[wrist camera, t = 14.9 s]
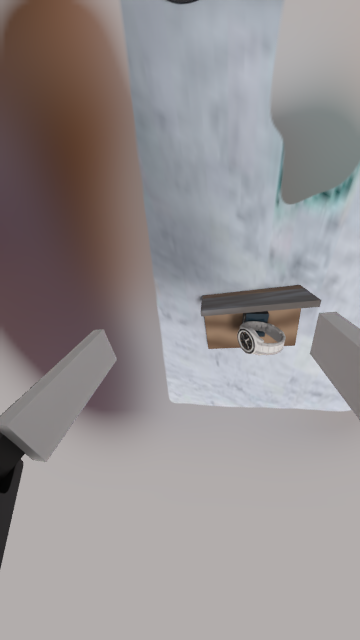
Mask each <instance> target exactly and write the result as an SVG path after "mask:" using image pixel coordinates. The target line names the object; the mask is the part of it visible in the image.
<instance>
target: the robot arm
mask: <svg viewBox="0 0 360 640" xmlns="http://www.w3.org/2000/svg"><path fill="white" fill-rule="evenodd" d="M171 1H175V2H190V1H193V0H171ZM310 354H311V356H312V357H313V358H314V360H315V361H316V362H317V364H318V365H319V366H320V368H321V369H322V370H323V372H324V373H325V374H326V376H327V377H328V378H329V380H330V381H331V382H332V384H333V385H334V386H335V388H336V389H337V390H338V392H339V393H340V394H341V396H342V397H343V398H344V400H345V401H346V402H347V404H348V405H349V406H350V408H351V409H352V410H353V412H354V413H355V414H356V416H357V417H358V418H359V420H360V329H359V328H358V327H356V326H355V325H354V324H352V323H351V322H349V321H348V320H347V319H345V318H344V317H342V316H341V315H340V314H338V313H337V312H328V313H319V316H318V320H317V325H316V329H315V334H314V338H313V343H312V347H311V351H310ZM116 360H117V358H116V356H115V354H114V352H113V350H112V347H111V345H110V343H109V341H108V339H107V336H106V334H105V332H104V330H94V331H93V332H91V334H89V336H87V337H86V338H85V339H84V340H83V341H82V342H81V343H80V344H78V345H77V346H76V347H75V348H74V349H73V350H72V351H71V352H70V353H69V354H68V355H66V356H65V357H64V358H63V359H62V360H61V361H60V362H59V363H58V364H57V365H56V366H54V367H53V368H52V369H51V370H50V371H49V372H48V373H47V374H46V375H45V376H44V377H43V378H42V379H40V380H39V381H38V382H37V383H35V384H34V385H33V386H32V387H31V388H30V389H29V390H28V391H27V392H26V393H25V394H24V395H22V397H21V398H19V399H18V400H17V401H16V402H15V403H14V404H13V405H11V406H10V407H9V408H8V409H7V410H6V411H5V412H4V413H3V414H2V415H1V416H0V568H1V563H2V559H3V554H4V550H5V545H6V541H7V536H8V532H9V527H10V523H11V519H12V514H13V510H14V505H15V500H16V496H17V492H18V487H19V483H20V478H21V473H22V469H23V461H22V460H21V457H22V456H23V455H24V454H26V455H28V456H29V457H30V458H31V459H32V460H36V461H44V462H46V461H47V460H48V459H49V457H50V456H51V454H52V453H53V451H54V450H55V448H56V447H57V446H58V444H59V443H60V441H61V440H62V438H63V437H64V436H65V434H66V433H67V431H68V429H69V428H70V427H71V425H72V424H73V422H74V421H75V420H76V418H77V417H78V415H79V414H80V412H81V411H82V409H83V408H84V407H85V405H86V404H87V402H88V401H89V399H90V398H91V396H92V395H93V394H94V392H95V391H96V389H97V388H98V386H99V385H100V383H101V382H102V380H103V379H104V378H105V376H106V375H107V373H108V372H109V370H110V369H111V367H112V366H113V365H114V363H115V362H116Z"/></svg>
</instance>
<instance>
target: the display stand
mask: <svg viewBox="0 0 360 640" xmlns="http://www.w3.org/2000/svg"><path fill="white" fill-rule="evenodd" d="M320 303H321V300H320V299H319V298H317V297H316V296H315V295H313V294H312V293H310V292H309V291H308V290H306V289H305V288H303V287H302V286H301V285H295V286H286V287H277V288H268V289H259V290H250V291H241V292H231V293H222V294H213V295H204V296H203V297H202V305H201V316H204V317H205V325H206V333H207V341H208V349H217V348H241V347H240V345H239V343H238V339H237V333H238V331H239V329H240V326H241V324H242V319H243V313H249V312H262V311H268V313H269V318H268V324H269V323H270V324H272V325H274V326H276V327H277V328H279V329H280V330H282V331H283V332H284V334H285V337H286V339H285V342H284V346H292V345H295V342H296V336H297V330H298V324H299V318H300V312H301V308H310V307H320ZM260 338H262V339H263V340H264V342H263V343H267V344H268V343H278V342H277V341H275V340H274V339H273V338H272V337H270V336H269V335H267V334H266V332H265V337H260Z"/></svg>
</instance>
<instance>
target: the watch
mask: <svg viewBox="0 0 360 640" xmlns="http://www.w3.org/2000/svg"><path fill="white" fill-rule="evenodd" d="M268 318H269V313H268V311H262V312H249V313H243V319H242V324H241V326H240V329H239V331H238V333H237V339H238V343H239V345H240V347H241V348H242V350H243V351H244V352H245V353H247V354H255V355H265V354H266V355H273V354H277V353H279V352H280V351H281V350H282V349H283V346H284V342H285V339H286V337H285V334H284V332H283V331H282V330H280V329H279V328H277V327H276V326H274V325H272V324H270V323H269V324H268ZM265 332H266V334H267V335H269V336H270V337H272V338H273V339H274V340H275V341H277V342H278V343H268V344H267V343H263V342H264V340H263V339H262V338H260V337H265Z"/></svg>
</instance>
